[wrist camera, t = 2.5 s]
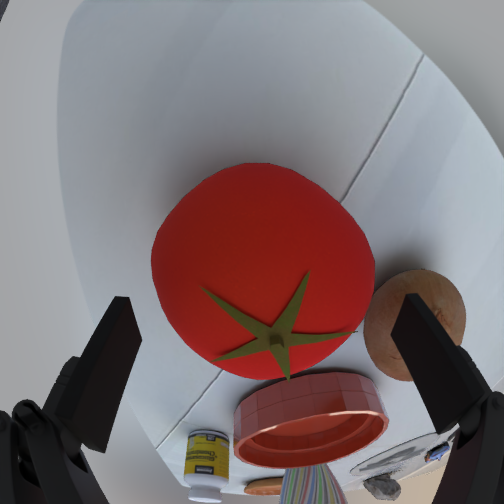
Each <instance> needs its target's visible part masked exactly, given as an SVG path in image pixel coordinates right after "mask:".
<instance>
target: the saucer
mask: <svg viewBox="0 0 504 504" xmlns="http://www.w3.org/2000/svg"><path fill="white" fill-rule="evenodd" d="M282 482H283V478H270V479H262V480H257V481H253V482H251V483H250V484H249V485H248V486H247V487H245V489H244V492H245V493H247V494H251V495H280V493H281V487H282Z"/></svg>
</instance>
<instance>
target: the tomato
mask: <svg viewBox="0 0 504 504" xmlns="http://www.w3.org/2000/svg"><path fill="white" fill-rule="evenodd" d="M151 267H152V278H153V282H154V285H155V288H156V291H157V295H158V298H159V301H160V304H161V307H162V309H163V311H164V313H165V315H166V317H167V319H168V321H169V323H170V324H171V325H172V327H173V328H174V329H175V331H176V332H177V333H178V335H179V336H180V337H181V338H182V340H183V341H184V342H185V343H186V344H187V345H188V346H189V347H190V348H191V349H192V350H194V351H195V352H196V353H197V354H198V355H200V356H201V357H203V358H204V359H205V360H207V361H208V362H210V363H211V364H213V365H215V366H217V367H219V368H221V369H223V370H225V371H228V372H230V373H232V374H235V375H238V376H241V377H245V378H250V379H256V380H270V379H276V378H281V377H286V379H287V380H288V382H289V383H290V375H292V374H295V373H298V372H300V371H303V370H305V369H307V368H309V367H312V366H313V365H315V364H317V363H318V362H320V361H322V360H323V359H325V358H326V357H327V356H329V355H330V354H331V353H333V352H334V351H335V350H336V349H337V348H338V347H339V346H340V345H342V344H343V343H344V342H345V341H346V340H347V339H348V337H349V336H350V335H351V334H352V333H355V332H358V331H355V330H356V328H357V327H358V326H359V324H360V323H361V321H362V320H363V318H364V316H365V314H366V312H367V309H368V307H369V304H370V301H371V298H372V295H373V292H374V283H375V260H374V257H373V254H372V251H371V248H370V246H369V243H368V241H367V238H366V236H365V234H364V232H363V231H362V229H361V228H360V227H359V225H358V224H357V223H356V221H355V220H354V218H353V217H352V216H351V215H350V214H349V213H348V212H347V211H346V210H345V209H344V208H343V206H342V205H341V204H340V203H339V202H338V201H337V200H335V199H334V198H333V197H332V196H331V195H330V194H328V193H327V192H326V191H325V190H324V189H323V188H321V187H320V186H319V185H317V184H315V183H314V182H312V181H310V180H309V179H307V178H305V177H304V176H302V175H300V174H298V173H297V172H295V171H293V170H291V169H288V168H284V167H281V166H277V165H273V164H270V163H244V164H240V165H236V166H233V167H229V168H226V169H223V170H221V171H219V172H217V173H216V174H214V175H212V176H210V177H208V178H207V179H205V180H203V181H202V182H201V183H200V184H199V185H197V186H196V187H195V188H194V189H193V190H191V191H190V192H189V193H188V194H187V195H186V196H184V197H183V198H182V199H181V201H180V202H179V203H178V204H177V205H176V206H175V208H174V209H173V210H172V211H171V212H170V214H169V215H168V216H167V218H166V219H165V221H164V222H163V224H162V225H161V227H160V228H159V230H158V232H157V234H156V238H155V241H154V244H153V247H152V253H151Z"/></svg>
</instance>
